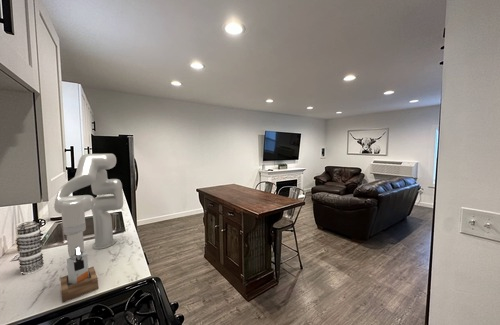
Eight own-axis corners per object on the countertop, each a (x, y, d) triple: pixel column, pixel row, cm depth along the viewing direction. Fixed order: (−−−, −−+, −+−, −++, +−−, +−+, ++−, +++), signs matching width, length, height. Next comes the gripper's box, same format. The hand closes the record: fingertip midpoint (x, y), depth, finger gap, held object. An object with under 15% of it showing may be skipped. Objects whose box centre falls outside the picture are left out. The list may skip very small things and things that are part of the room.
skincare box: (76, 286, 90) (73, 260, 88) (68, 285, 90) (66, 259, 89) (89, 277, 95) (87, 253, 94) (82, 276, 96) (80, 252, 95)
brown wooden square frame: (61, 288, 93) (60, 277, 93) (94, 276, 101) (93, 266, 101) (62, 303, 84) (61, 291, 84) (98, 288, 93) (97, 277, 92)
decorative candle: (49, 266, 110) (44, 221, 108) (25, 276, 102) (19, 227, 99) (39, 263, 113) (34, 218, 111) (15, 272, 105) (10, 225, 103)
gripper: (62, 224, 94) (65, 259, 96) (64, 237, 82) (68, 277, 84) (83, 220, 99) (86, 253, 101) (88, 231, 87) (91, 269, 89)
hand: (78, 264), depth 93 cm, fingers open, 9 cm apart
